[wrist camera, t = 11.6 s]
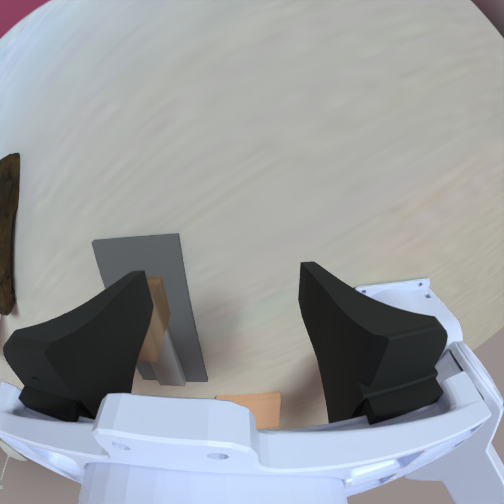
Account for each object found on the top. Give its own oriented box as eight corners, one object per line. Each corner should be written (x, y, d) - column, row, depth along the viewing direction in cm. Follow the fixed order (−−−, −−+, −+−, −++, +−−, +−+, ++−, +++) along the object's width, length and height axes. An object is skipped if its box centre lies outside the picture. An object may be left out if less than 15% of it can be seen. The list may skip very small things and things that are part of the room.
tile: (280, 399, 30) (279, 426, 33) (279, 388, 31) (277, 417, 35) (216, 403, 29) (224, 429, 33) (216, 392, 31) (224, 420, 34)
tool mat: (178, 233, 21) (177, 235, 20) (207, 378, 29) (207, 381, 28) (94, 240, 21) (91, 242, 20) (144, 376, 29) (143, 379, 28)
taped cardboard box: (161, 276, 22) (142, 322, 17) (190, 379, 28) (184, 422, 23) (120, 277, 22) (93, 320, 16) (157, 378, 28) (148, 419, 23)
